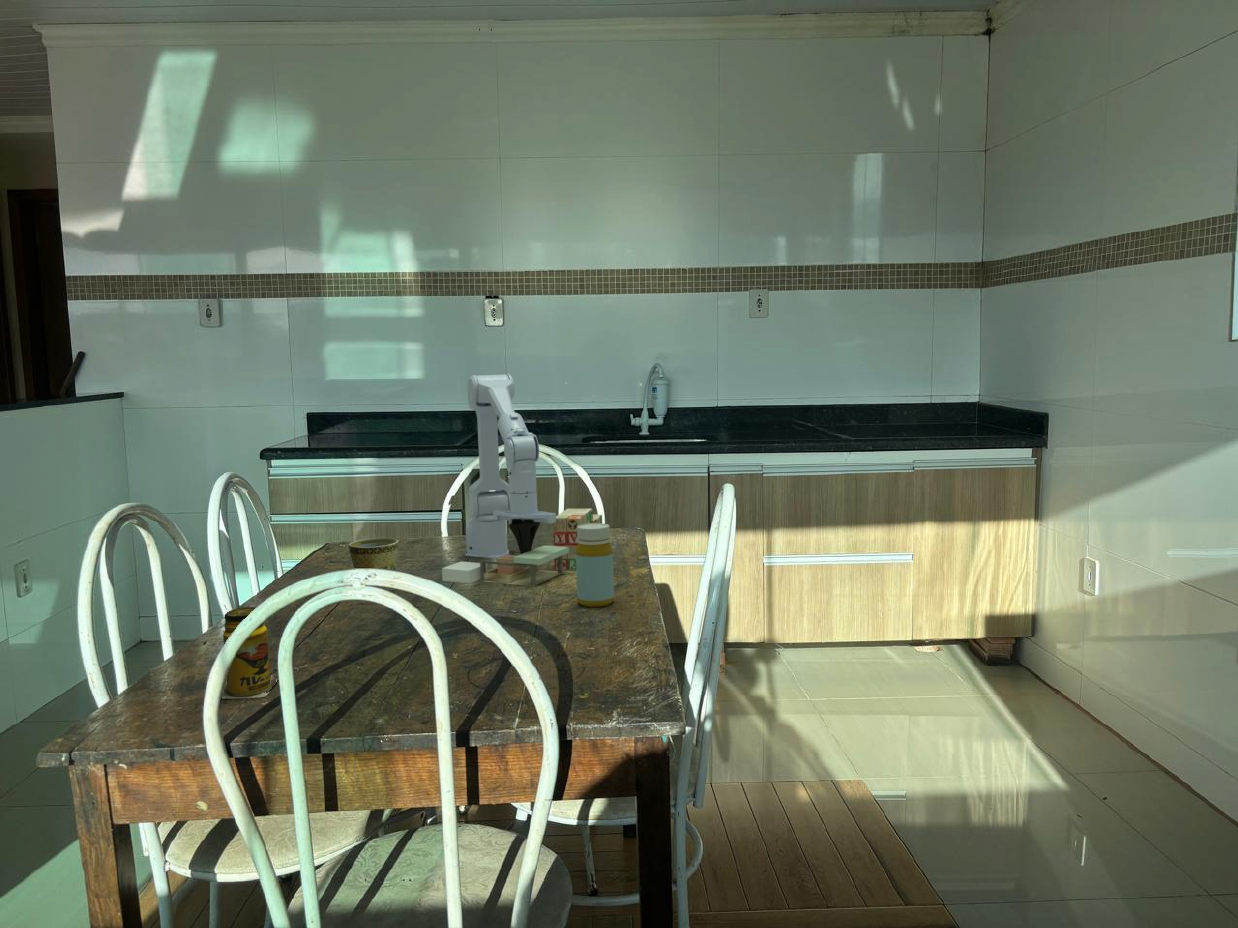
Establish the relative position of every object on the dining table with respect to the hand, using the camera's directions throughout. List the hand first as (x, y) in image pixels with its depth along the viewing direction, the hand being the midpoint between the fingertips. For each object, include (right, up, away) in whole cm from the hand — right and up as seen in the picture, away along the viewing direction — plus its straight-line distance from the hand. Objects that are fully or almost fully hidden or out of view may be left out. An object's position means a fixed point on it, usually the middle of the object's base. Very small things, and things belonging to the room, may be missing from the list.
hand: (525, 554), depth 203 cm
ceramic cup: (-32, -7, -4) cm, 33 cm away
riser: (-13, -6, +1) cm, 14 cm away
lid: (+4, 0, -2) cm, 4 cm away
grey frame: (-1, -5, +1) cm, 5 cm away
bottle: (+16, -8, -21) cm, 27 cm away
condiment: (-35, -14, -64) cm, 74 cm away
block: (-4, -5, +2) cm, 6 cm away
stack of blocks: (+11, -3, +16) cm, 20 cm away
